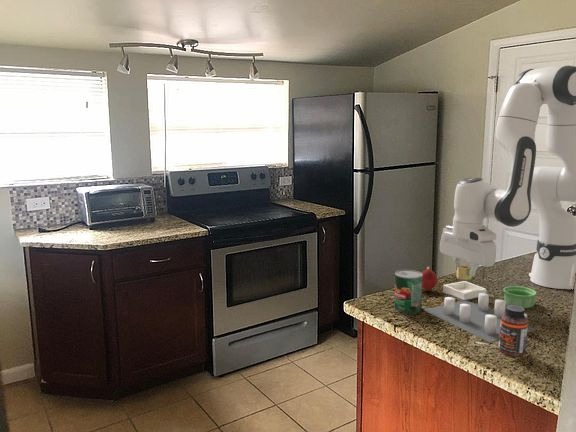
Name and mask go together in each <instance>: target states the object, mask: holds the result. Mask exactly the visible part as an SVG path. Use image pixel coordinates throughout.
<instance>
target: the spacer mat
mask: <svg viewBox="0 0 576 432" xmlns="http://www.w3.org/2000/svg"><path fill="white" fill-rule="evenodd" d="M477 299H478V301H477V302H478V303H477V304H476V303H474V302H471V301H470V300H462V301H457V302H456V298H454V297H453V296H452V297H451V296H446V297H444V305H437V306H434V307H428V308H424V309H422V311H424V312H426V313H428V314H429V315H432V316H435V317H436V318H438V319H441V320H443V321H445V322H446V323H448V324H451V325H452V326H455V327H457V328H458V329H461V330H463V331H465V332H467V333H469V334H471V335H473V336H475V337H477V338H479V339H482V340H483V341H486V342H487V343H492V342H496V341H499V337H500V325H501V317H502V315H504V314H506V307H507V306H506V305H507V304H506V301H504V300H503V299H495V300H494V311H493V310H491V309H489V303H490V301H489V300H490V295H489V294H488V293H487V292H486V293H480V294H479V297H477ZM524 316H525V317H526V318H527V319H528V314H527V313H525V314H524ZM537 329H538V328H537ZM537 329H536V328H534V327H532V326H530V325H528V329H527V333H529V332H533V331H537Z"/></svg>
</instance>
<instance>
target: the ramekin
mask: <svg viewBox="0 0 576 432" xmlns="http://www.w3.org/2000/svg"><path fill="white" fill-rule="evenodd" d="M502 291H503V295H504V296H503V297H504V298H503V299H504V301H506V305H507V306H509V305H516V306H520V307H523V308H524V309H529V308H530V309H531V308H533V307H534V304H535V299H536V296H537V292H536V290H534V289H532V288H529V287H526V286H521V285H520V286H518V285H510V286H509V285H508V286H505V287H504V288H503V290H502Z"/></svg>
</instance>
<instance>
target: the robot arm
mask: <svg viewBox="0 0 576 432" xmlns="http://www.w3.org/2000/svg"><path fill="white" fill-rule="evenodd" d="M542 105H547V106H548V110H547V117H546V118H547V119H546V130H545V131H546V132H545V147H546V150H547V151H548V152H549V153H550V154H551V155H553V156H555V157H557V158H559V159H560V160H561V162H562V164H563V166H552V165H551V166H547V165H540V166H536V165H535V164H536V159H537V158H536V156H537V145H536V144H537V143H536V142H535V140H536V129H537V124H538V121H539V119H540V118H539V117H540V111H541V108H542ZM495 139H496V141H497V143H498V144H499V145H500V147H501V148H503V149H504V150H505V151H506V152H507V153H508V155H509V156H510V159H511V160H510V161H511V165H510V172H509V179H508V185H507V188H506V190H505V189H503V188H499V187H496V186H493V185H492V184H489V183H488V182H486V181H485V180H484V179H483V178H482V177H467V178H463V179H461V180H459V181H458V182H457V184H456V187H455V191H454V200H453V208H454V214H453V218H452V226H450V225H446V226H444V227H443V228H442V234H441V236H440V240H439V241H440V242H439V252H440V253H441V254H443V255H446V256H448V257H449V256H450V257H452V262H453V264H454V271H455V272H457V266H460V265H461V262H460V261H461V260H462V261H466V262H468V263H470V267H471V269H470V270H468V275H469V276H471V277H475V276H476V271H477V270H478V268H479V267H480V266H481V267H486V268H487V267H493V266H494V265H495V264H496V260H497V245H496V243H495V240H496V239H497V234H496V233H495V232H494V231H493V230H491V229H489V228H488V227H487V226H486V225H484V219H486V218H488V219H489V220H493V221H496V222H499V223H501V224H503V225H505V226H507V227H512V228H513V227H518V226H520V225H522V224H523V223H524V222H526V220H528V218H529V217H530V214H531V212H532V203H533V205H534V206H535V208H536V211H537V214H538V219H539V220H538V221H539V223H538V224H539V226H538V227H539V232H538V239H537V240H536V253H535V254H534V257H533V262H532V267H531V272H529V273H528V276H529V277H530V279H529V280H530V282H532V283H533V284H534V285H535V284H536V285H538V286H540V287H545V288H549V289H550V288H552V289H557V290H558V289H559V290H571V289H572V290H571V291H574V290H573V285H574V282H575V273H576V217H575V216H574V215H573V214H572V213H570V212H569V211H568V210H565V209H564V208H563V207H562V205H561V202H571V203H572V202H574V203H576V66H574V65H564V66H563V65H548V66H545V67H538V68H529V69H526V70H524V71H521V73H519V74H518V76H516V79H515V80H514V83H513V85H512V86H511V87H510V88H509V90H508V91H507V93H506V95H505V98H504V100H503V102H502V105H501V107H500V111H499V114H498V117H497V122H496V127H495Z"/></svg>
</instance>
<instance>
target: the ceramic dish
mask: <svg viewBox="0 0 576 432" xmlns="http://www.w3.org/2000/svg"><path fill="white" fill-rule="evenodd" d="M442 293H443V294H445V295H450V296H452V297H455V298H458V299H460V300H462V301H465V300H467V301H469V300H472V299H476V298H477V299H478V298H479V294H480V293H486V294H487V288H485V287H482V286H480V285H477V284H474V283H472V282H469V281H467V280H462V281H458V282H451V283H446V284H443V285H442Z"/></svg>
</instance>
